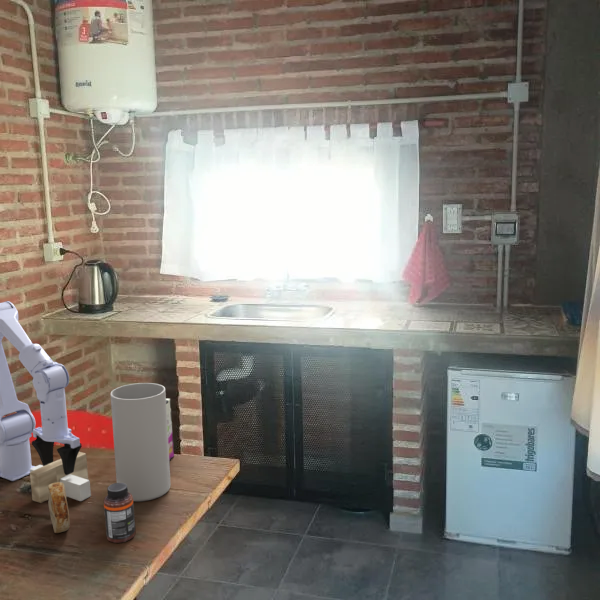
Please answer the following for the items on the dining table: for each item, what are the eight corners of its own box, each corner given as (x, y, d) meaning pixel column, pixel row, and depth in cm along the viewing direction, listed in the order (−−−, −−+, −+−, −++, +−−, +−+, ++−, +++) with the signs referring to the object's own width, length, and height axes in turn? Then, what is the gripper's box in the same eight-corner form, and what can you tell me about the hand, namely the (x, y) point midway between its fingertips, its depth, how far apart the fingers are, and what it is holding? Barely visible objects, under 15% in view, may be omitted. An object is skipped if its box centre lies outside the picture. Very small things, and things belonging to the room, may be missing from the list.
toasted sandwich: (72, 537, 140) (69, 493, 138) (54, 541, 139) (50, 496, 137) (67, 515, 149) (63, 473, 148) (49, 519, 148) (45, 477, 146)
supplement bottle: (111, 529, 143) (107, 479, 141) (138, 529, 143) (135, 479, 141) (102, 544, 137) (98, 493, 135) (131, 544, 137) (127, 492, 135)
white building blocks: (31, 484, 165) (29, 469, 165) (41, 479, 168) (40, 464, 167) (80, 501, 156) (79, 485, 155) (90, 496, 158) (89, 480, 158)
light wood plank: (32, 500, 157) (29, 472, 156) (80, 477, 169) (77, 451, 167) (40, 503, 155) (38, 474, 154) (88, 479, 167) (86, 453, 166)
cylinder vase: (116, 483, 165) (109, 386, 160) (167, 475, 169) (162, 380, 164) (119, 506, 153) (111, 402, 149) (173, 497, 157) (168, 395, 152)
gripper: (88, 416, 158) (92, 469, 161) (48, 406, 166) (52, 457, 168) (63, 425, 152) (68, 481, 155) (23, 414, 160) (28, 468, 162)
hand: (58, 469), depth 161 cm, fingers open, 7 cm apart
